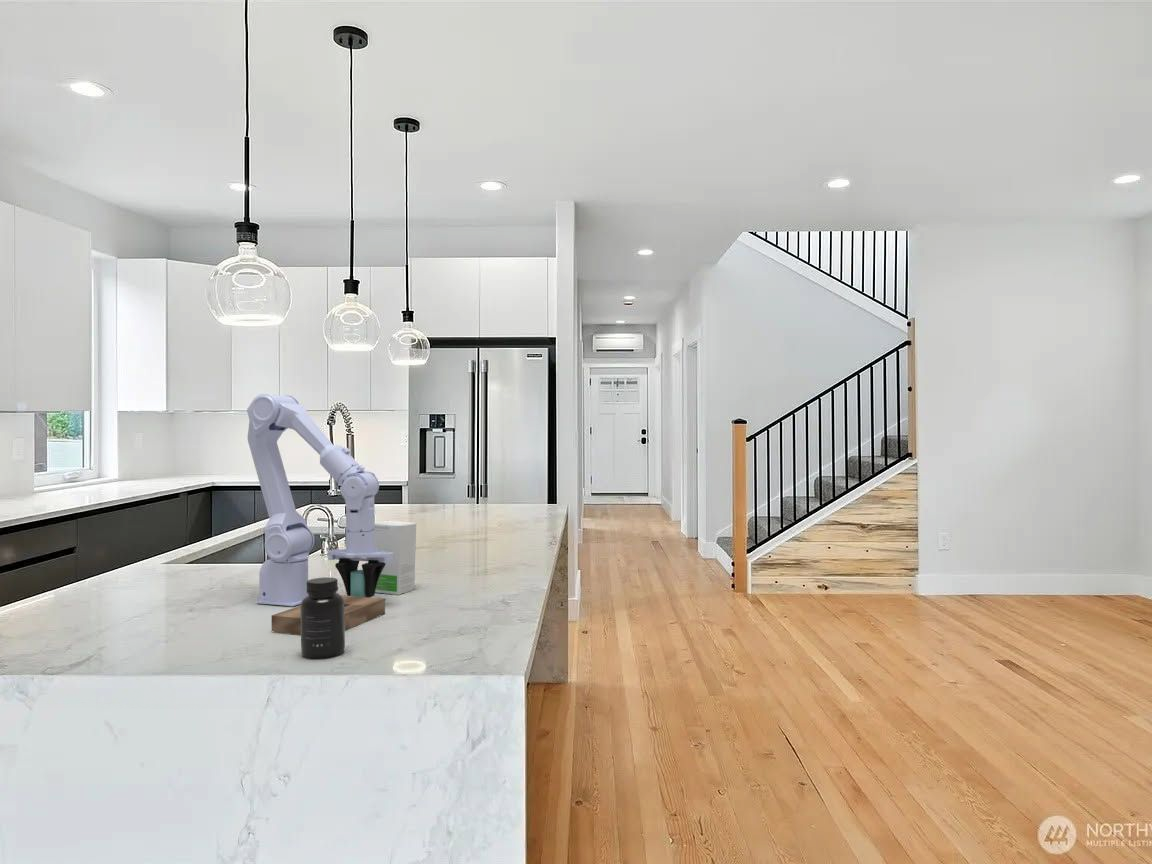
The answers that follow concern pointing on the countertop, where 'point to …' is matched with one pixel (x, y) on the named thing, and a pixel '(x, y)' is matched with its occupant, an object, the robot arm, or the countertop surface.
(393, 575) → the skincare box
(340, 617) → the supplement bottle
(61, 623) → the countertop surface
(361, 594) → the peg
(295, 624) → the socket board
